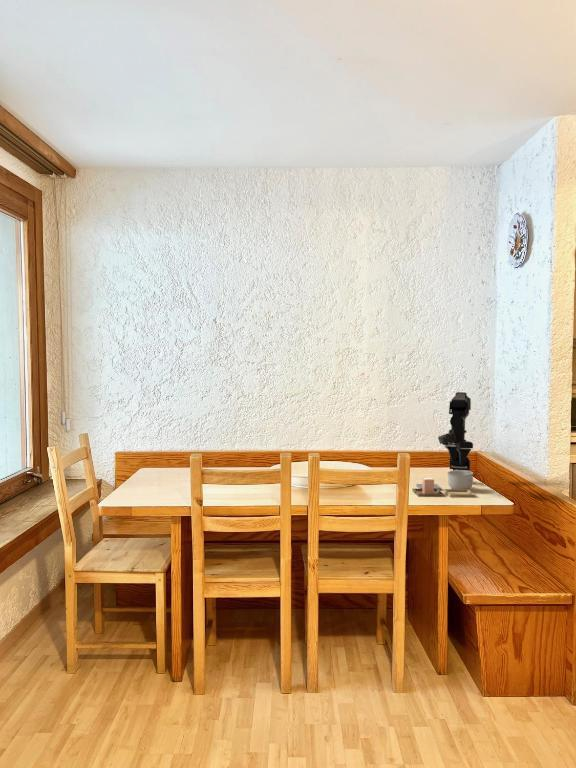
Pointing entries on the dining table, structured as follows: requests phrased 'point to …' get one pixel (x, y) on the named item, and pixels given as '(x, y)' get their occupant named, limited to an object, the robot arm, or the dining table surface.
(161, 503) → the dining table surface
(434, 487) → the slate tile
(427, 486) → the letter block
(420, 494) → the walnut tray
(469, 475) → the teacup
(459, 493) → the oak tray
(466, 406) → the robot arm
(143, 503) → the dining table surface
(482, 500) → the dining table surface
